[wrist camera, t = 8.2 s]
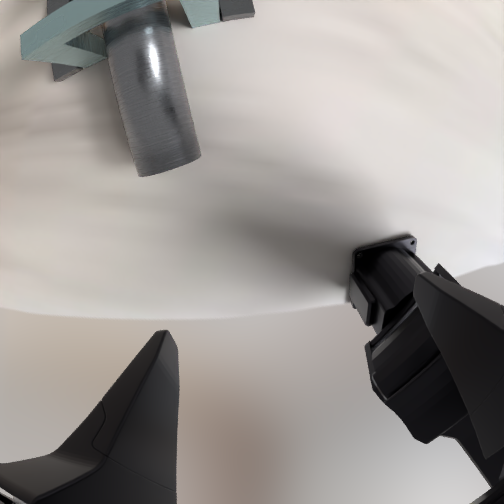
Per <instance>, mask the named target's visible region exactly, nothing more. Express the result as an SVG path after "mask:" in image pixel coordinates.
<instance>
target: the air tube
mask: <svg viewBox="0 0 504 504" xmlns="http://www.w3.org/2000/svg"><path fill="white" fill-rule="evenodd" d="M102 28H103V34H104V40H105V46H106V51H107V57H108V62H109V67H110V71H111V76H112V81H113V85H114V89H115V94H116V98H117V102H118V106H119V110H120V114H121V118H122V121H123V125H124V129H125V132H126V136H127V140H128V143H129V146H130V150H131V153H132V157H133V160H134V163H135V166H136V169H137V173H138V176H139V177H144V176H150V175H154V174H158V173H162V172H165V171H168V170H171V169H174V168H177V167H180V166H183V165H185V164H188V163H190V162H192V161H194V160H196V159H198V158H200V157H201V152H200V148H199V144H198V140H197V136H196V132H195V128H194V124H193V120H192V115H191V111H190V107H189V103H188V99H187V95H186V90H185V86H184V82H183V78H182V73H181V69H180V65H179V60H178V56H177V51H176V47H175V42H174V38H173V33H172V29H171V24H170V19H169V14H168V10H167V5H166V0H162V1H159V2H156V3H153V4H150V5H147V6H144V7H141V8H138V9H136V10H133V11H130V12H128V13H125V14H123V15H120V16H118V17H116V18H113V19H111V20H109V21H107V22H105V23H102Z"/></svg>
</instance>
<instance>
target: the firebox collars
mask: <svg viewBox="0 0 504 504" xmlns="http://www.w3.org/2000/svg"><path fill="white" fill-rule="evenodd" d="M159 1H162V0H47V15H48V16H47V17H45V18H44V19H42V20H41V21H39V22H38V23H36V24H35V25H34V26H32V27H31V28H29V29H28V30H27V31H25V32H24V33H23V34H22V35H20V39H21V55H22V60H32V61H42V62H51V63H52V68H53V75H54V81H63V80H64V79H66V78H68V77H70V76H72V75H73V74H75V73H77V72H79V71H81V70H83V68H87V67H89V66H91V65H93V64H95V63H97V62H99V61H101V60H103V59H105V58H107V52H106V46H105V40H104V39H103V38H100V37H98V36H96V35H94V34H92V33H89V32H87V31H88V30H90V29H92V28H94V27H96V26H98V25H100V24H102V23H105V22H107V21H109V20H111V19H113V18H116V17H118V16H120V15H123V14H125V13H128V12H130V11H133V10H136V9H138V8H141V7H144V6H147V5H150V4H153V3H156V2H159ZM180 2H181V4H182V6H183V9H184V11H185V13H186V15H187V18H188V20H189V22H190V24H191V27H192V28H195V27H200V26H204V25H209V24H213V23H218V22H220V18H219V7H220V12H221V16H222V20H223V22H224V21H229V20H236V19H242V18H249V17H254V14H255V10H254V6H253V2H252V0H180Z"/></svg>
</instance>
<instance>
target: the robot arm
mask: <svg viewBox="0 0 504 504" xmlns="http://www.w3.org/2000/svg"><path fill="white" fill-rule="evenodd" d="M411 241H412V242H411ZM416 244H417V239H416V238H415V237H414V236H408V237H404V238H399V239H395V240H391V241H387V242H383V243H379V244H374V245H370V246H366V247H361V248H358V249H356V250H354V252H353V271H352V273H351V275H350V298H351V300H352V301H351V304H352V306H353V308H354V309H357V310H358V312H359V314H360V316H361V318H362V320H363V321H364V323H365V325H367V326H371V325H372V326H373V328H374V330H375V332H376V334H377V335H376V336H375V337H374V338H373V339H372V340H371V341H369V342H368V343H367V344H366V345H365V352H366V357H367V362H368V368H369V374H370V380H371V384H372V388H373V391H374V392H375V393H376V394H377V396H378V397H379V398H380V399H381V400H382V401H383V402H384V403H385V405H387V406H388V407H389V408H390V409H391V410H393V411H394V412H395V413H396V414H397V415H398V416H399V418H400V419H401V420H402V421H403V423H404V424H405V425H406V427H407V428H408V430H409V431H410V433H411V434H412V436H413V437H414V438H415V439H416V440H418V441H420V442H422V443H425V444H428V443H430V442H431V441H433V440H434V439H435V438H437V437H438V436H443V437H448V438H453V439H455V440H456V441H457V442H458V443H459V444H460V446H461V447H462V448H463V450H464V451H465V452H466V453H467V455H468V456H469V458H470V459H471V460H472V462H473V463H474V464H475V466H476V467H477V468H478V470H479V471H480V473H481V474H482V476H483V477H484V478H485V480H486V481H487V483H488V484H489V486H490V487H491V489H490V490H488V491H487V492H486V493H484V494H483V495H482V496H480V497H479V498H477V499H476V500H475V501H473V502H472V503H470V504H504V306H503V305H500V304H499V303H497V302H495V301H492V300H490V299H488V298H486V297H484V296H482V295H480V294H477V293H475V292H473V291H471V290H469V289H466V288H464V287H462V286H461V285H460V284H459V283H458V282H457V281H456V280H455V279H454V278H453V277H452V276H451V275H450V274H449V273H448V272H447V271H446V270H445V269H444V268H443V267H442V266H441V265H440V264H439V263H438V265H437V266H436V267H435V268H434V269H435V270H434V272H432V271H431V270H430V269H429V268H428V267H427V266H426V265H425V264H424V263H423V262H422V261H421V260H420V259H419V258H418V257H417V256H416V255H415V252H416ZM359 253H361V254H360V255H359V256H357V255H358V254H359ZM178 365H179V364H178V349H177V345H176V343H175V341H174V339H173V338H172V336H171V334H170V332H169V331H168V330H160V331H156V332H155V333H154V335H153V336H152V337H151V338H150V340H149V341H148V342H147V343H146V345H145V346H144V347H143V348H142V349H141V351H140V352H139V353H138V354H137V355H136V357H135V358H134V359H133V360H132V362H131V363H130V364H129V365H128V367H127V368H126V369H125V370H124V372H123V373H122V374H121V375H120V377H119V378H118V379H117V380H116V382H115V383H114V384H113V385H112V387H111V388H110V389H109V390H108V392H107V393H106V394H105V396H104V397H103V398H102V401H100V402H99V403H98V404H97V406H96V407H95V408H94V409H93V411H92V412H91V413H90V414H89V415H88V417H87V418H86V419H85V420H84V421H83V422H82V423H81V424H80V426H79V427H78V428H77V429H76V430H75V431H74V432H73V433H72V434H71V435H70V436H69V437H68V438H67V439H66V440H65V442H64V443H63V444H62V445H61V446H60V447H59V448H58V449H57V450H55V451H54V452H52V453H50V454H48V455H45V456H41V457H36V458H32V459H27V460H22V461H17V462H11V463H0V487H1V488H2V489H4V490H5V491H7V492H8V493H10V494H11V495H13V499H12V498H10V497H8V496H6V495H4V494H2V493H0V504H177V496H176V495H177V493H176V460H177V458H176V457H177V427H178V407H179V366H178Z"/></svg>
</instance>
